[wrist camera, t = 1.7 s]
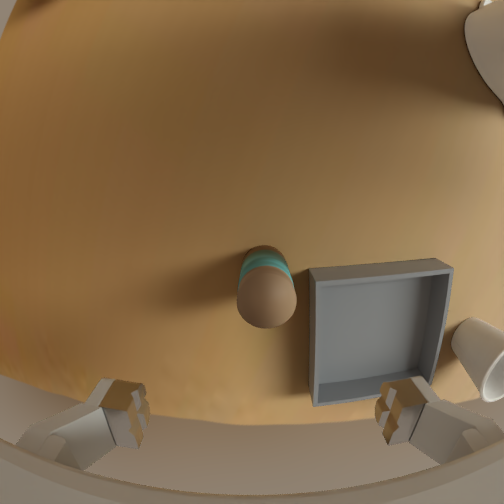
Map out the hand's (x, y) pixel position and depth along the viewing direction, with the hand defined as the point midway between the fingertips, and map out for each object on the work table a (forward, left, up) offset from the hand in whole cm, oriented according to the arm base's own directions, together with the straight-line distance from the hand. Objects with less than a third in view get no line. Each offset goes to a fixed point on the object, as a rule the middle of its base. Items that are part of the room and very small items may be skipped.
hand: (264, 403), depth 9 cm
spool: (0, +2, -22) cm, 22 cm away
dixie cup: (-27, +14, -23) cm, 38 cm away
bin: (-12, +10, -22) cm, 27 cm away
